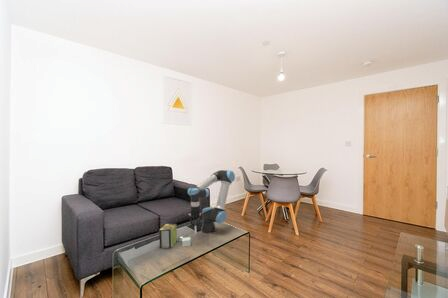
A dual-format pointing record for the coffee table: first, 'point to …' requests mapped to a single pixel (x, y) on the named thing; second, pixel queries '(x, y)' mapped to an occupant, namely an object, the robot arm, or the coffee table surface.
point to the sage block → (186, 241)
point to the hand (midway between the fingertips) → (195, 232)
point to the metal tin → (180, 238)
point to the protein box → (168, 235)
